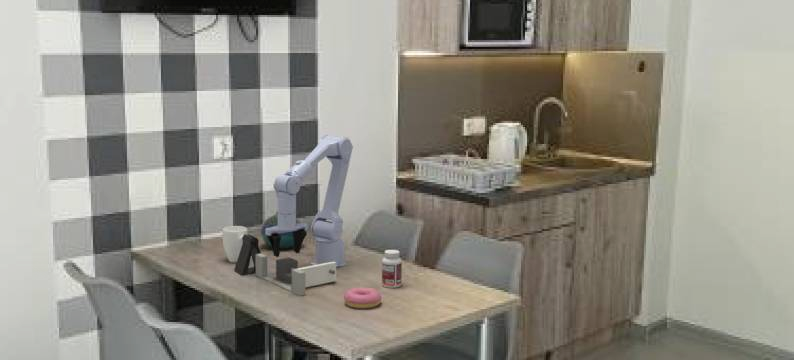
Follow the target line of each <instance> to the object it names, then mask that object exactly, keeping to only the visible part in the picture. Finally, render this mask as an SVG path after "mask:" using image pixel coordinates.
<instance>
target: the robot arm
mask: <svg viewBox="0 0 794 360" xmlns="http://www.w3.org/2000/svg"><path fill="white" fill-rule="evenodd" d="M353 148H354V146H353V143H352V142H351V139H350V138H349V137H347V136H346V137H345V136H342V137H341V136H334V135H328V134H324V135H323V136H322V137H320V139H319V140H317V145H316V147H315V148H314V149H313V150H311V152H310V153H309V155H308V156H306V158H304V160H302V159H300V160H296V161H295V162H294V165H292V166H291V167H290V168H289V169H288V170H287V171H285V173H284V174H280V175H278V176H277V177H276V178H275V180H274V183H273V184H272V185H273V189H274V191H275V196H276V199H277V211H278V226H274V227H271V228H266V229H265V234H266V235H267V238H268V240H269V241H270V244H271V246H272V247H271V249H272V253H273V257H275V258H278V257H280V249H279V247H280V241H281V237H280V236H279V235H278V234H279V233H286V232H292V233H293V238H294V246H293V252H294V253H296V254H300V253H301V249H302V245H303V242H304V239H305V238H306V236H307V235H308V234H307V233H308V232H307V230H309V229H308V228H309V225H308V223H306V222H301V223H298V224H296V219H297V193H299V191H300V188H301V186H302V185H303V182H304V181H306V179H307V178H309V176H310V175H312V172H313V168H314V167H315V166H317V164H318V163H320V162H321V161H323V159H325V158H326V159H327V160H329V162H330V163H331V165H332V166H331V170H330V175H329V179H328V183H327V187H326V192H325V197H324V202H323V206H322V209H321V210H320V211H318V212H317V213H316V214H315V217H314V219H313V221H312V223H311V225H310V232H311V235H312V237H314V238H313V239H314V241H315V262H310V266H313V265H318V264H323V263H328V262H336V268H339V267H344V266H346V265H347V263H345V261H346V260H345V259H346V258H345V256H346V255H345V253H346V252H345V251H346V248H345V243H344V241H343V239H341V238H342V235H343V230H344V229H343V223H344V220H343V218H342V216H340V214H339V210H340V206H341V202H342V197H343V192H344V188H345V185H346V184H345V183H346V180H347V176H348V172H349V166H350V162H351V156H352V153H353V152H352V151H353Z"/></svg>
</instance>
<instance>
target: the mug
mask: <svg viewBox="0 0 794 360" xmlns="http://www.w3.org/2000/svg"><path fill="white" fill-rule="evenodd" d="M245 234H246V235H248V228H247V227H245V226H243V225H231V226H224V227H223V228H222V246H223V249H224V251H225V254H226V257H227V259H228V260H227V261H229V263H235V264H236V263H237V260H238V256H239V253H240V250H241V247H242V243H243V240H242V237H243V235H245Z"/></svg>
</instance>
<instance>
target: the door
mask: <svg viewBox="0 0 794 360" xmlns="http://www.w3.org/2000/svg"><path fill="white" fill-rule="evenodd" d="M297 269H299V270H301V271H304V272H305V288H308V287H313V286H318V285H323V284H327V283H333V282H336V281H337V267H336V262H328V263H323V264H318V265H308V266H303V267H298V268H297ZM294 270H295V269H294Z"/></svg>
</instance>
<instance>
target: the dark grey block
mask: <svg viewBox="0 0 794 360" xmlns="http://www.w3.org/2000/svg"><path fill="white" fill-rule="evenodd" d="M292 268H294V269H297V268H299V261H298V260H297V259H294V258H292V257H283V258H279V259H275V278H276V279H277V280H280V281H282V282H284V281H285V282H284V283H287V284H289V285H290V284H291V269H292Z"/></svg>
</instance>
